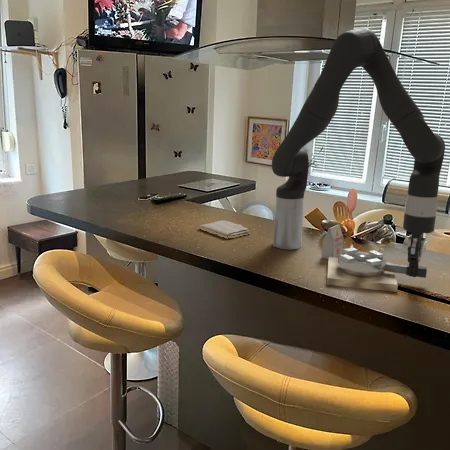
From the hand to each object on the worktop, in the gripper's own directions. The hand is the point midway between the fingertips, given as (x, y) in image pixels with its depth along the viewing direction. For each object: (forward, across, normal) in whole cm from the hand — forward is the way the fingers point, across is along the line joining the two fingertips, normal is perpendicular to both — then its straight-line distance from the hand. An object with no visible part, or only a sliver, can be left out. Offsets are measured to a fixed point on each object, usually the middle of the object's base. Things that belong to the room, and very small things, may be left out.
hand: (412, 275), depth 122 cm
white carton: (+3, +14, +26) cm, 30 cm away
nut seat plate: (+3, +1, +14) cm, 14 cm away
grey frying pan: (+1, +2, +9) cm, 9 cm away
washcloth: (+3, +20, +69) cm, 72 cm away
